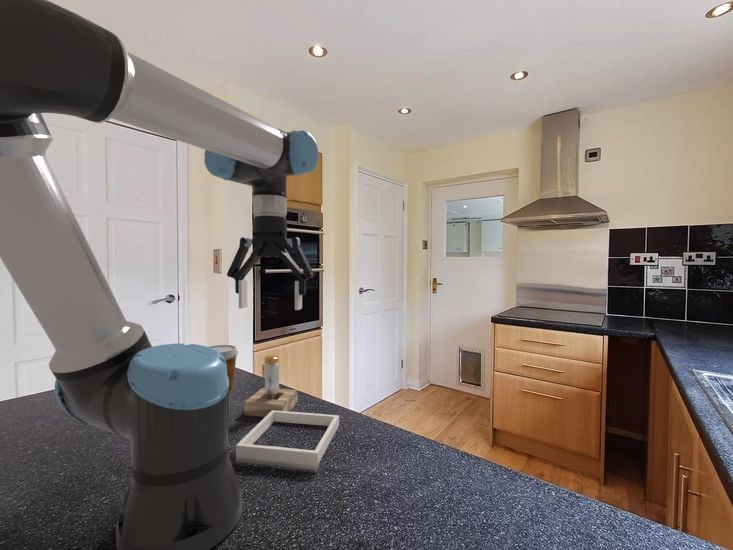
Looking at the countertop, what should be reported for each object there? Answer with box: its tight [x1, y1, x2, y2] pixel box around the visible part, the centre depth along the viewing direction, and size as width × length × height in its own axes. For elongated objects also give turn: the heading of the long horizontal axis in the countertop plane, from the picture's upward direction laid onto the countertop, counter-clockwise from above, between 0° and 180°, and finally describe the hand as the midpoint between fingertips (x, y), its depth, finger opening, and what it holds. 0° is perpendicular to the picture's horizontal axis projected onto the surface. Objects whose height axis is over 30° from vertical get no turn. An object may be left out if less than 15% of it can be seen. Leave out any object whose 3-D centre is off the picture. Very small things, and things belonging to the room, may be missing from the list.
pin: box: [264, 355, 280, 400], centre depth 83 cm, size 3×3×12 cm
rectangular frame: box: [235, 410, 340, 471], centre depth 69 cm, size 15×15×3 cm
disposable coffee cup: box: [209, 344, 239, 392], centre depth 96 cm, size 10×10×12 cm
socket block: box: [244, 387, 298, 418], centre depth 84 cm, size 9×9×4 cm
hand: (270, 308), depth 83 cm, fingers open, 13 cm apart
